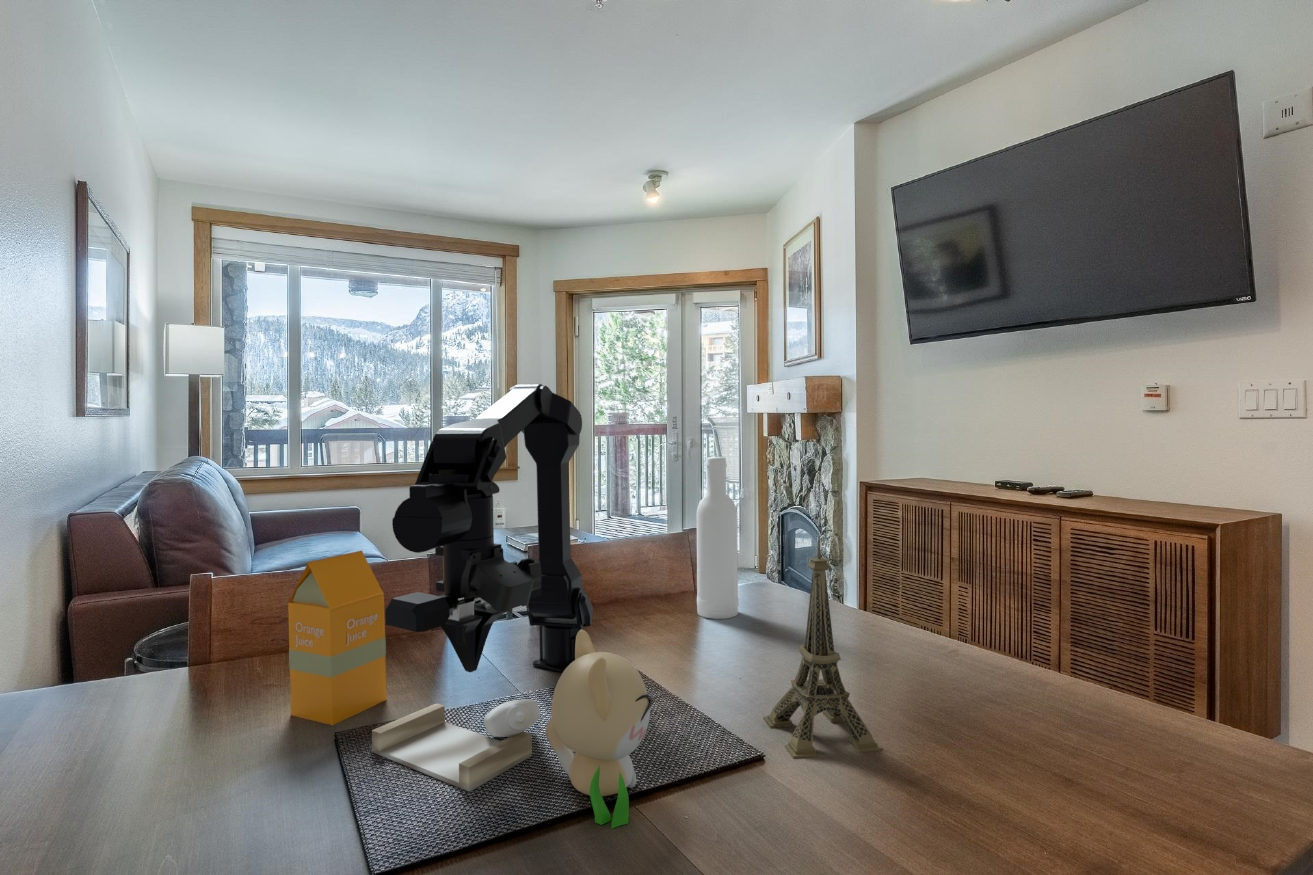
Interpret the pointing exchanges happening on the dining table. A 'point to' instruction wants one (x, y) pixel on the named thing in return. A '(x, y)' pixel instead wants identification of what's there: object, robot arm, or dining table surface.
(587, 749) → the kitten
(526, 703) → the eye dropper bottle
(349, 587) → the orange juice
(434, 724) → the u rest
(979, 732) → the dining table surface
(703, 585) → the bottle
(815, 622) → the eiffel tower
